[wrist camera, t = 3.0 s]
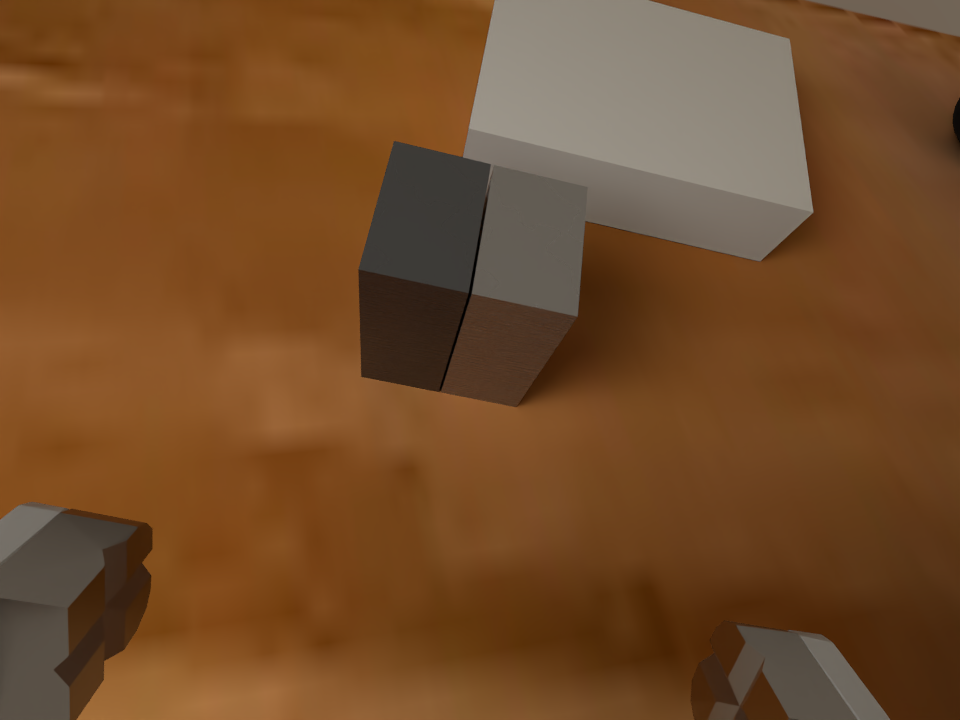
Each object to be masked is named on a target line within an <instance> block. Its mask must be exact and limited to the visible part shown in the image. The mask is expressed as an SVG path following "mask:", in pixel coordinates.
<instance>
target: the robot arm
mask: <svg viewBox="0 0 960 720" xmlns="http://www.w3.org/2000/svg"><path fill="white" fill-rule="evenodd" d="M151 550H152V528H151V527H150V526H149V525H148V524H147V523H144V522H139V521H133V520H128V519H123V518H118V517H113V516H107V515H102V514H97V513H92V512H87V511H81V510H76V509H67V508H62V507H57V506H52V505H46V504H41V503H36V502H29V503H26V504H22V505H19V506H17V507H16V508H15V509H13V510H12V511H11V512H9V513H8V514H7V515H6V516H4V517H3V518H2V519H1V520H0V720H76V719H77V718H78V717H79V715H80V714H81V712H82V711H83V709H84V708H85V706H86V705H87V703H88V702H89V701H90V699H91V698H92V696H93V695H94V693H95V692H96V690H97V689H98V687H99V686H100V685H101V683H102V682H103V680H104V661H105V660H107V659H109V658H110V657H112V656H114V655H116V654H118V653H119V652H121V651H123V650H124V649H125V648H126V646H127V645H128V643H129V642H130V640H131V639H132V637H133V636H134V634H135V632H136V631H137V629H138V626H139V624H140V622H141V619H142V617H143V615H144V613H145V610H146V608H147V603H148V599H149V595H150V589H151V575H150V573H149V572H148V570H147V569H146V568H145V566H144V565H143V564H142V562H143V561H144V559H145V558H146V557H147V555H148V554H149V553H150V551H151ZM710 643H711V646H712V649H713V651H714V653H713V654H712V655H710V656H709V657H707V658H706V659H704V660H703V661H701V662H700V663H699V664H698V667H697V669H696V672H695V674H694V677H693V679H692V686H691V705H692V710H693V716H694V719H695V720H890V718H889V717H888V716H887V714H886V713H885V712H884V710H883V709H882V708H881V706H880V705H879V704H878V702H877V701H876V700H875V698H874V697H873V696H872V694H871V693H870V692H869V690H868V689H867V688H866V686H865V685H864V684H863V682H862V681H861V680H860V678H859V677H858V676H857V674H856V673H855V672H854V670H853V669H852V668H851V666H850V665H849V664H848V662H847V661H846V660H845V658H844V657H843V656H842V654H841V653H840V652H839V650H838V649H837V648H836V646H835V645H834V644H833V642H831V641H830V640H829V639H827V638H826V637H824V636H823V635H821V634H814V633H807V632H800V631H793V630H788V631H786V630H781V629H775V628H769V627H763V626H757V625H750V624H744V623H738V622H732V621H725V620H724V621H723V622H721V623H720V624H719V625H718V626H717V627H716V628H715V630H714V632H713V634H712V636H711V638H710Z"/></svg>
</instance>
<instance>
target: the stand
mask: <svg viewBox="0 0 960 720" xmlns="http://www.w3.org/2000/svg"><path fill="white" fill-rule="evenodd" d="M463 158H467V159H472V160H476V161H480V162H484V163H488V164H491V168H490V174H489V179H488V185H489V181H490V177H491V174H492V170H493V166H494V165H497V166H501V167H505V168H509V169H513V170H518V171H522V172H526V173H530V174H535V175H539V176H543V177H547V178H551V179H556V180H560V181H564V182H568V183H572V184H577V185H581V186H585V187H588V190H587V203H586V216H585V221H588V222H592V223H596V224H601V225H605V226H609V227H614V228H618V229H622V230H626V231H631V232H635V233H639V234H644V235H648V236H652V237H657V238H661V239H665V240H669V241H674V242H678V243H682V244H687V245H691V246H695V247H700V248H704V249H708V250H713V251H717V252H721V253H725V254H730V255H734V256H738V257H743V258H747V259H751V260H756V261H761V260H762V259H763V258H764V257H765V256H767V255H768V254H769V253H770V252H771V251H772V250H773V249H774V248H775V247H776V246H777V245H778V244H780V243H781V242H782V241H783V240H784V239H785V238H786V237H787V236H788V235H789V234H790V233H792V232H793V231H794V230H795V229H796V228H797V227H798V226H799V225H800V224H801V223H802V222H803V221H805V220H806V219H807V218H808V217H809V216H810V215H811V214H812V213H813V206H812V199H811V191H810V184H809V177H808V169H807V162H806V155H805V148H804V140H803V133H802V126H801V119H800V111H799V104H798V97H797V89H796V82H795V75H794V68H793V60H792V53H791V46H790V39H787V38H784V37H780V36H776V35H773V34H769V33H766V32H762V31H758V30H755V29H751V28H747V27H744V26H740V25H736V24H733V23H729V22H725V21H722V20H718V19H714V18H711V17H707V16H704V15H700V14H696V13H693V12H689V11H685V10H682V9H678V8H674V7H671V6H667V5H663V4H660V3H656V2H652V1H649V0H495V2H494V7H493V12H492V17H491V22H490V27H489V32H488V37H487V41H486V46H485V51H484V56H483V61H482V66H481V71H480V76H479V81H478V85H477V90H476V95H475V100H474V105H473V110H472V115H471V120H470V125H469V130H468V134H467V139H466V144H465V149H464V154H463ZM488 185H487V188H488ZM486 192H487V191H486Z"/></svg>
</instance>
